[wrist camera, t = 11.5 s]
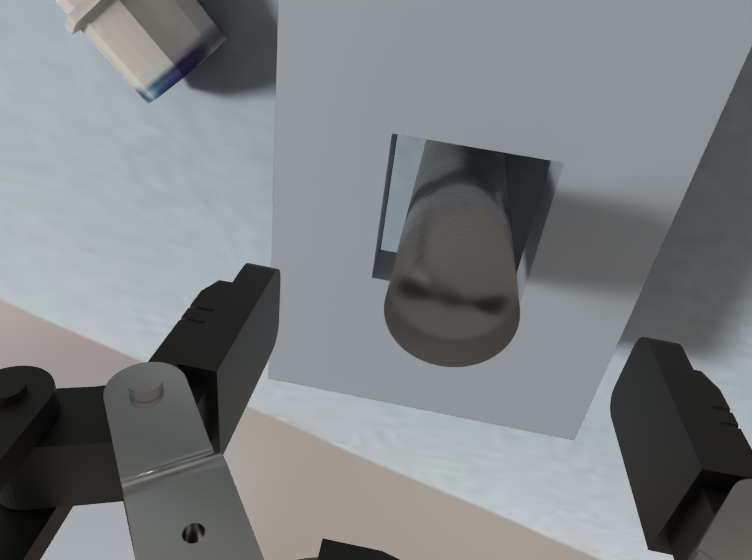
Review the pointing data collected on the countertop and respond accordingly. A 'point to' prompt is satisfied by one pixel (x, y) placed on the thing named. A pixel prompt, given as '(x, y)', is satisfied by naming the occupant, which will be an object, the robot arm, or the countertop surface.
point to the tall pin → (455, 261)
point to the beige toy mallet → (147, 38)
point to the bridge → (497, 133)
